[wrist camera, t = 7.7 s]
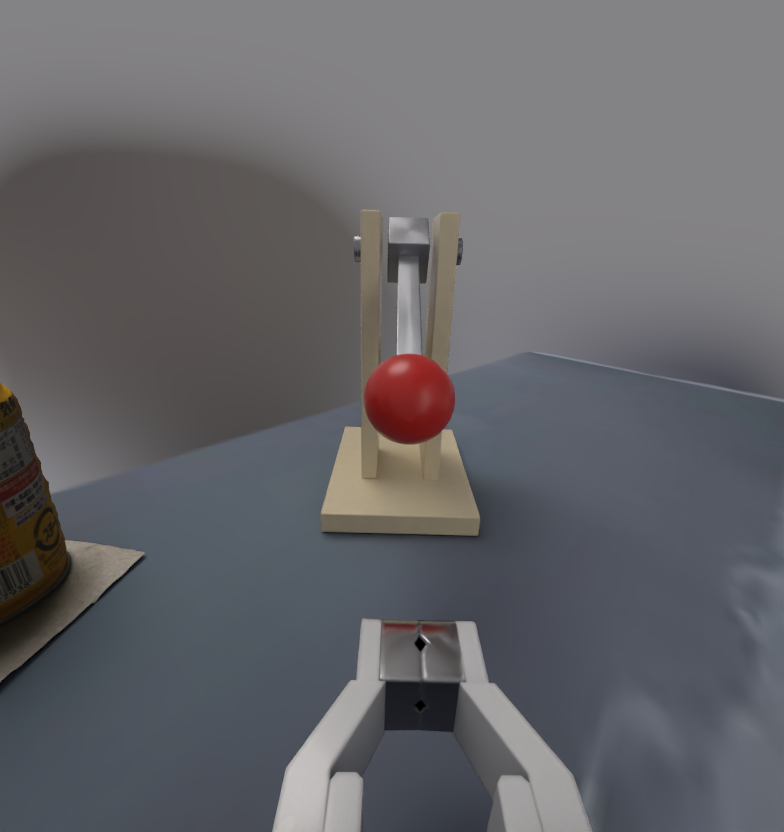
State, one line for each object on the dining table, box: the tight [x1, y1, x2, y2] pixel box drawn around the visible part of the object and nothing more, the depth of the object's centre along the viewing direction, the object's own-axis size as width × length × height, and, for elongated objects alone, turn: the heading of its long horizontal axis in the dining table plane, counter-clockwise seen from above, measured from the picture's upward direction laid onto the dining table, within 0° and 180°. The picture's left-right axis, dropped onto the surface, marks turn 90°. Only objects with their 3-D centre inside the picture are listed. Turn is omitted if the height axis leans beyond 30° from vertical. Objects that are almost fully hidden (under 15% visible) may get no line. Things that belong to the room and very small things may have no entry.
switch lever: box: [364, 217, 455, 445], centre depth 19 cm, size 14×4×4 cm, turn 179°
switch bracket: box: [320, 210, 480, 536], centre depth 25 cm, size 12×9×17 cm
